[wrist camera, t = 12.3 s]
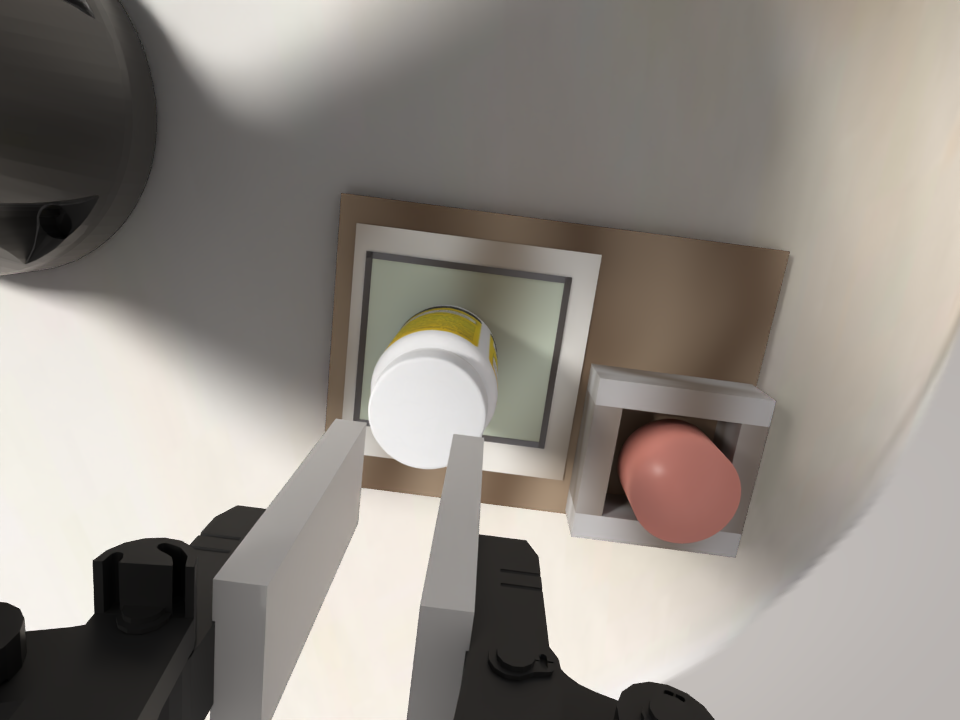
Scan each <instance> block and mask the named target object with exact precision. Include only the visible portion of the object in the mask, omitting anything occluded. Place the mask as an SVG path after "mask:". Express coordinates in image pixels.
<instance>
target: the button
mask: <svg viewBox="0 0 960 720" xmlns="http://www.w3.org/2000/svg"><path fill="white" fill-rule="evenodd" d="M617 471H618V477H619V480H620V482H621V485H622V487H623V489H624V491H625V494H626V496H627V498H628V500H629V502H630V505H631V507H632V509H633V511H634V514H635V516H636V518H637V520H638V521H639V523H640V524H641V525H642V526H643V527H644V529H645V530H647V531H648V532H649V533H650V534H652V535H653V536H655V537H657V538H659V539H661V540H664V541H667V542H672V543H681V544H683V543H693V542H698V541H701V540H704V539H707V538H709V537H711V536H713V535H715V534H716V533H718V532H719V531H720V530H722V529H723V528H724V527H725V526H726V525H727V524H728V523H729V522H730V520H731V519H732V518H733V516H734V515H735V513H736V511H737V509H738V506H739V503H740V498H741V483H740V479H739V476H738V473H737V471H736V469H735V467H734V466H733V464H732V463H731V462H730V461H729V460H728V459H727V457H726V456H725V455H724V454H723V453H722V452H721V451H720V450H719V449H718V448H717V447H716V445H715V444H714V443H713V442H712V441H711V440H710V439H709V438H708V437H707V436H706V435H705V434H704V432H702V431H701V430H700V429H699V428H698V427H696V426H695V425H693V424H691V423H689V422H686V421H683V420H678V419H660V420H655V421H652V422H649V423H647V424H645V425H643V426H641V427H640V428H638V429H637V430H636V431H634V432H633V433H632V434H631V435H630V436H629V437H628V438H627V440H626V441H625V442H624V444H623V446H622V448H621V450H620V453H619V456H618V462H617Z"/></svg>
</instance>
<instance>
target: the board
mask: <svg viewBox="0 0 960 720" xmlns="http://www.w3.org/2000/svg"><path fill="white" fill-rule="evenodd" d="M789 253H790V252H789V251H782V250H774V249H767V248H759V247H752V246H744V245H736V244H729V243H721V242H713V241H706V240H698V239H690V238H683V237H675V236H667V235H660V234H652V233H644V232H637V231H629V230H621V229H614V228H606V227H598V226H591V225H583V224H575V223H568V222H560V221H552V220H545V219H537V218H529V217H522V216H514V215H506V214H499V213H491V212H483V211H476V210H468V209H460V208H453V207H445V206H437V205H430V204H422V203H414V202H407V201H399V200H391V199H384V198H376V197H369V196H361V195H353V194H346V193H341V203H340V218H339V233H338V248H337V262H336V277H335V292H334V307H333V322H332V337H331V352H330V367H329V382H328V397H327V411H326V426H325V432H326V431H327V430H328V428H329V427H330V426H331V424H332V423H333V422H334V420H335V419H343V420H350V421H358V422H366V423H367V425H366V437H365V448H364V460H363V472H362V484H361V488H369V489H377V490H384V491H392V492H400V493H408V494H416V495H423V496H431V497H439V498H441V495H442V490H443V485H444V480H445V475H446V469H447V467H443V468H438V469H420V468H414V467H410V466H407V465H405V464H403V463H401V462H399V461H397V460H395V459H394V458H392V457H391V456H390V455H389V454H387V453H386V452H385V451H384V450H383V449H382V447H381V446H380V445H379V444H378V442H377V440H376V439H375V437H374V435H373V433H372V430H371V427H370V423H369V418H368V405H369V399H370V395H371V379H372V375H373V372H374V368H375V366H376V364H377V362H378V360H379V358H380V357H381V355H382V354H383V352H384V351H385V350H386V348H387V347H388V346H389V344H390V343H391V342H392V340H393V339H394V337H395V336H396V335H397V333H398V332H399V331H400V329H401V328H402V326H403V325H404V324H405V323H406V322H407V321H408V320H409V319H410V318H411V317H412V316H414V315H415V314H416V313H418V312H420V311H422V310H424V309H426V308H429V307H432V306H437V305H452V306H458V307H461V308H464V309H466V310H468V311H470V312H472V313H473V314H475V315H476V316H477V317H479V318H480V319H481V320H482V321H483V322H484V323H485V324H486V325H487V327H488V328H489V330H490V331H491V333H492V335H493V337H494V340H495V343H496V348H497V357H498V360H497V361H498V398H497V405H496V409H495V412H494V414H493V417H492V419H491V421H490V423H489V425H488V426H487V427H486V429H485V430H484V432H483V435H482V438H484V450H483V468H482V486H481V503H486V504H494V505H501V506H509V507H517V508H525V509H532V510H540V511H548V512H556V513H564V514H566V516H567V520H568V524H569V529H570V533H571V537H579V538H587V539H595V540H602V541H610V542H618V543H626V544H634V545H641V546H649V547H657V548H665V549H673V550H680V551H688V552H696V553H704V554H712V555H719V556H727V557H735V558H736V554H737V550H738V546H739V542H740V539H741V535H742V531H743V527H744V523H745V519H746V516H747V512H748V508H749V504H750V500H751V496H752V492H753V489H754V485H755V481H756V477H757V473H758V469H759V466H760V462H761V458H762V454H763V450H764V446H765V443H766V439H767V435H768V431H769V427H770V423H771V420H772V416H773V412H774V408H775V404H776V400H774V399H773V398H771V397H770V396H768V395H767V394H766V393H764V392H763V391H761V390H760V389H758V388H757V387H756V385H757V381H758V377H759V373H760V369H761V365H762V361H763V357H764V353H765V349H766V345H767V341H768V337H769V333H770V329H771V325H772V321H773V317H774V313H775V309H776V305H777V301H778V297H779V293H780V289H781V285H782V281H783V277H784V273H785V269H786V265H787V261H788V257H789ZM660 419H678V420H683V421H686V422H689V423H691V424H693V425H695V426H696V427H698V428H699V429H700V430H701V431H702V432H704V434H705V435H706V436H707V437H708V438H709V439H710V440H711V441H712V442H713V443H714V444H715V445H716V447H717V448H718V449H719V450H720V451H721V452H722V453H723V454H724V455H725V456H726V457H727V459H728V460H729V461H730V462H731V463H732V464H733V466H734V467H735V469H736V471H737V473H738V476H739V479H740V483H741V498H740V503H739V506H738V509H737V511H736V513H735V515H734V516H733V518H732V519H731V520H730V522H729V523H728V524H727V525H726V526H725V527H724V528H723V529H722V530H720V531H719V532H718V533H716V534H715V535H713V536H711V537H709V538H707V539H704V540H701V541H698V542H693V543H683V544H681V543H672V542H667V541H664V540H661V539H659V538H657V537H655V536H653V535H652V534H650V533H649V532H648V531H647V530H645V529H644V527H643V526H642V525H641V524H640V523H639V521H638V520H637V518H636V516H635V514H634V511H633V509H632V507H631V505H630V502H629V500H628V498H627V496H626V494H625V491H624V489H623V487H622V485H621V482H620V480H619V477H618V471H617V462H618V456H619V453H620V450H621V448H622V446H623V444H624V442H625V441H626V440H627V438H628V437H629V436H630V435H631V434H632V433H633V432H634V431H636V430H637V429H638V428H640V427H641V426H643V425H645V424H647V423H649V422H652V421H655V420H660Z"/></svg>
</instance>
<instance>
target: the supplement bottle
mask: <svg viewBox="0 0 960 720" xmlns="http://www.w3.org/2000/svg"><path fill="white" fill-rule="evenodd" d="M497 360H498V357H497V348H496V343H495V340H494V337H493V335H492V333H491V331H490V330H489V328H488V327H487V325H486V324H485V323H484V322H483V321H482V320H481V319H480V318H479V317H477V316H476V315H475V314H473V313H472V312H470V311H468V310H466V309H464V308H461V307H458V306H452V305H437V306H432V307H429V308H426V309H424V310H422V311H420V312H418V313H416V314H415V315H414V316H412V317H411V318H410V319H409V320H408V321H407V322H406V323H405V324H404V325H403V326H402V328H401V329H400V331H399V332H398V333H397V335H396V336H395V337H394V339H393V340H392V342H391V343H390V344H389V346H388V347H387V348H386V350H385V351H384V352H383V354H382V355H381V357H380V358H379V360H378V362H377V364H376V366H375V368H374V372H373V375H372V379H371V395H370V399H369V405H368V418H369V423H370V427H371V430H372V433H373V435H374V437H375V439H376V440H377V442H378V444H379V445H380V446H381V447H382V449H383V450H384V451H385V452H386V453H387V454H389V455H390V456H391V457H392V458H394V459H395V460H397V461H399V462H401V463H403V464H405V465H407V466H410V467H414V468H420V469H438V468H443V467H447V464H448V459H449V454H450V449H451V443H452V438H453V434H459V435H467V436H474V437H482V435H483V432H484V430H485V429H486V427H487V426H488V425H489V423H490V421H491V419H492V417H493V414H494V412H495V409H496V405H497V398H498V361H497Z"/></svg>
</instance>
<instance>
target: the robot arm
mask: <svg viewBox="0 0 960 720" xmlns="http://www.w3.org/2000/svg"><path fill="white" fill-rule="evenodd" d="M156 125H157V119H156V103H155V94H154V88H153V83H152V78H151V74H150V70H149V66H148V63H147V60H146V56H145V53H144V51H143V48H142V45H141V43H140V40H139V38H138V36H137V33H136V31H135V29H134V27H133V25H132V23H131V21H130V19H129V17H128V16H127V14H126V12H125V10H124V9H123V7H122V5H121V4H120V2H119V1H118V0H0V275H9V274H16V273H24V272H31V271H39V270H45V269H50V268H54V267H58V266H61V265H64V264H67V263H70V262H72V261H75V260H77V259H79V258H81V257H83V256H85V255H87V254H88V253H90V252H91V251H93V250H95V249H96V248H98V247H99V246H100V245H102V244H103V243H104V242H105V241H107V240H108V239H109V238H110V237H111V236H112V235H113V234H114V233H115V232H116V231H117V230H118V229H119V228H120V227H121V226H122V224H123V223H124V222H125V220H126V219H127V218H128V217H129V215H130V213H131V212H132V210H133V209H134V207H135V206H136V204H137V202H138V200H139V198H140V196H141V194H142V192H143V189H144V187H145V185H146V182H147V179H148V176H149V173H150V169H151V165H152V161H153V156H154V150H155V142H156ZM366 425H367V423H366V422H358V421H350V420H343V419H335V420H334V422H333V423H332V424H331V426H330V427H329V428H328V430H327V431H326V432H325V433H324V435H323V436H322V437H321V439H320V440H319V441H318V443H317V444H316V445H315V447H314V448H313V449H312V450H311V452H310V453H309V454H308V456H307V457H306V458H305V460H304V461H303V462H302V463H301V465H300V466H299V467H298V469H297V470H296V471H295V473H294V474H293V475H292V477H291V478H290V479H289V480H288V482H287V483H286V484H285V486H284V487H283V488H282V490H281V491H280V492H279V494H278V495H277V496H276V497H275V499H274V500H273V501H272V503H271V504H270V505H269V507H268V508H267V509H262V508H254V507H246V506H238V505H237V506H235V507H233V508H231V509H230V510H228V511H226V512H224V513H222V514H220V515H218V516H216V517H215V518H214V519H213V520H212V521H211V522H210V523H209V524H208V525H207V526H206V528H205V529H204V530H203V531H202V532H201V535H200V536H199V535H198V536H197V537H196V538H195V540H194V541H193V542H192V543H191V544H190V545H188V544H186V543H184V542H183V541H180V540H174V539H169V538H145V539H140V540H135V541H131V542H126V543H123V544H121V545H118V546H116V547H114V548H111V549H109V550H106V551H105V552H104V553H102V554H101V555H100V556H98V557H97V558H96V559H94V560H93V584H94V612H95V613H94V615H93V616H92V617H91V618H90V620H89V621H88V622H87V623H86V625H81V626H75V627H67V628H57V629H47V630H36V631H26V632H25V620H24V617H23V615H22V612H21V610H20V609H19V608H17V607H15V606H13V605H11V604H9V603H4V602H0V720H204V719H205V718H206V716H207V714H208V712H209V711H210V720H271V719H272V717H273V715H274V712H275V710H276V708H277V706H278V703H279V701H280V699H281V697H282V694H283V692H284V690H285V687H286V685H287V683H288V681H289V678H290V676H291V674H292V672H293V669H294V667H295V665H296V663H297V660H298V658H299V656H300V653H301V651H302V649H303V647H304V644H305V642H306V640H307V638H308V635H309V633H310V631H311V629H312V626H313V624H314V622H315V619H316V617H317V615H318V613H319V610H320V608H321V606H322V604H323V601H324V599H325V597H326V595H327V592H328V590H329V588H330V585H331V583H332V581H333V579H334V576H335V574H336V572H337V570H338V567H339V565H340V563H341V561H342V558H343V556H344V554H345V551H346V549H347V547H348V545H349V542H350V540H351V538H352V536H353V533H354V531H355V529H356V527H357V524H358V519H359V507H360V496H361V484H362V472H363V460H364V448H365V437H366ZM483 450H484V438H482V437H474V436H467V435H459V434H453V438H452V443H451V449H450V454H449V459H448V464H447V469H446V475H445V480H444V485H443V490H442V495H441V500H440V506H439V511H438V516H437V521H436V526H435V531H434V537H433V542H432V547H431V552H430V557H429V562H428V568H427V573H426V578H425V583H424V588H423V594H422V599H421V604H420V611H419V620H418V628H417V637H416V645H415V654H414V662H413V671H412V679H411V688H410V696H409V705H408V713H407V720H714V718H713V717H712V716H711V714H710V713H709V712H708V711H707V709H706V708H705V707H704V706H703V705H702V704H700V703H699V702H698V701H696V700H695V699H694V698H692V697H691V696H690V695H688V694H687V693H685V692H683V691H680V690H678V689H676V688H674V687H671V686H669V685H665V684H659V683H654V682H644V683H637V684H633V685H631V686H630V687H628V688H627V689H625V690H624V691H622V693H621V695H620V698H619V700H618V701H617V700H615V699H612V698H609V697H607V696H604V695H602V694H599V693H597V692H594V691H592V690H590V689H588V688H586V687H584V686H582V685H580V684H578V683H577V682H575V681H574V680H572V679H571V678H570V677H568V676H567V675H566V674H565V673H564V672H563V671H562V670H561V667H560V663H559V660H558V658H557V656H556V655H555V654H554V652H553V651H552V650H551V649H550V647H549V641H548V633H547V625H546V616H545V608H544V599H543V592H542V582H541V577H540V566H539V557H538V555H537V554H536V553H535V551H534V550H533V549H532V547H531V546H530V545H529V543H528V542H527V541H526V540H519V539H511V538H503V537H495V536H487V535H480V534H479V521H480V503H481V486H482V468H483Z"/></svg>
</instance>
